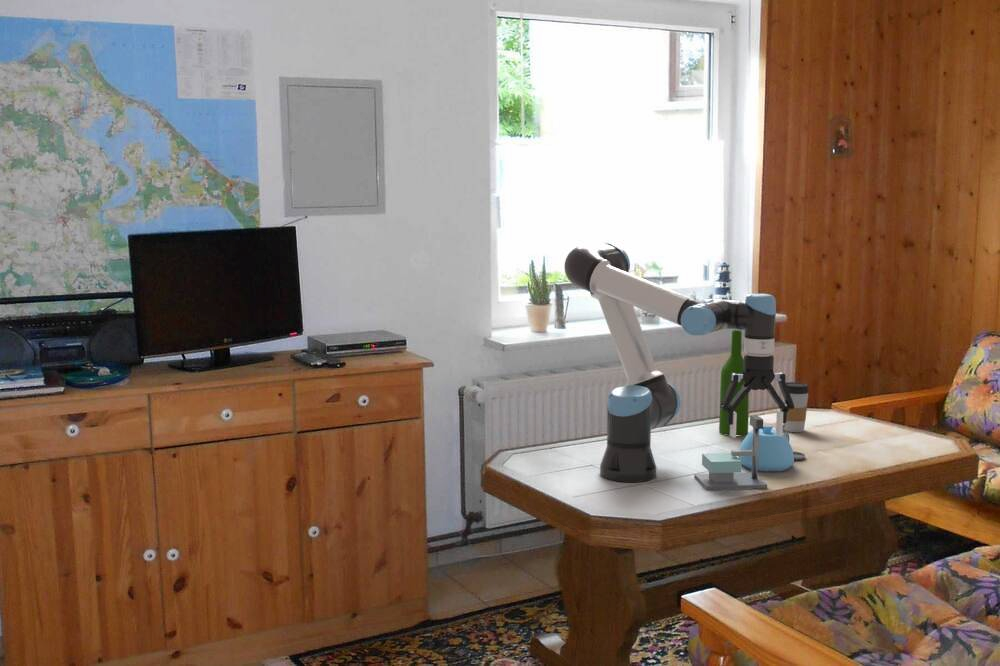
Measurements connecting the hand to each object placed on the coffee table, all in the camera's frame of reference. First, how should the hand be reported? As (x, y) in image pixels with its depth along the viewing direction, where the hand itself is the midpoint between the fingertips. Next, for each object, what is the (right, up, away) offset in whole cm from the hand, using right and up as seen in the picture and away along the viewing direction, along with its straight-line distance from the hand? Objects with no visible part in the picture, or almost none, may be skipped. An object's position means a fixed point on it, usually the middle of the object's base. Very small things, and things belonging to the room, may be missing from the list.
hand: (756, 435), depth 256 cm
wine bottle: (+7, -5, +54) cm, 55 cm away
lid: (-9, -8, 0) cm, 12 cm away
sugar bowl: (+7, -10, +17) cm, 22 cm away
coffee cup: (+27, -4, +57) cm, 63 cm away
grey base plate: (-7, -12, +1) cm, 14 cm away
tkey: (-3, -11, +1) cm, 12 cm away
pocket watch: (+16, -9, +26) cm, 32 cm away
